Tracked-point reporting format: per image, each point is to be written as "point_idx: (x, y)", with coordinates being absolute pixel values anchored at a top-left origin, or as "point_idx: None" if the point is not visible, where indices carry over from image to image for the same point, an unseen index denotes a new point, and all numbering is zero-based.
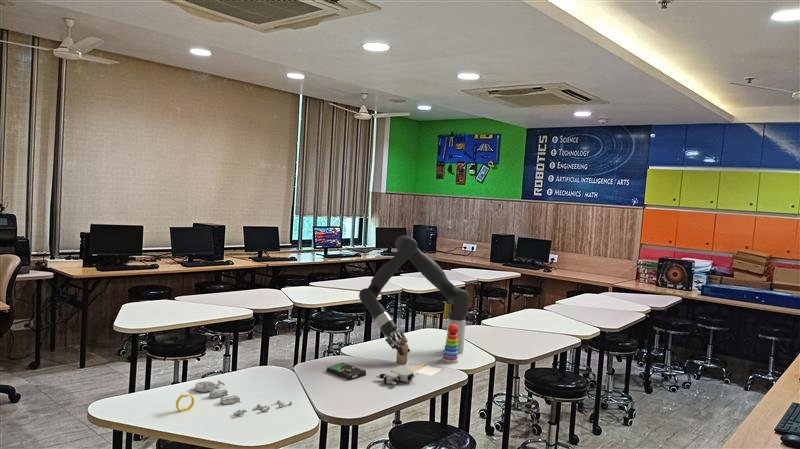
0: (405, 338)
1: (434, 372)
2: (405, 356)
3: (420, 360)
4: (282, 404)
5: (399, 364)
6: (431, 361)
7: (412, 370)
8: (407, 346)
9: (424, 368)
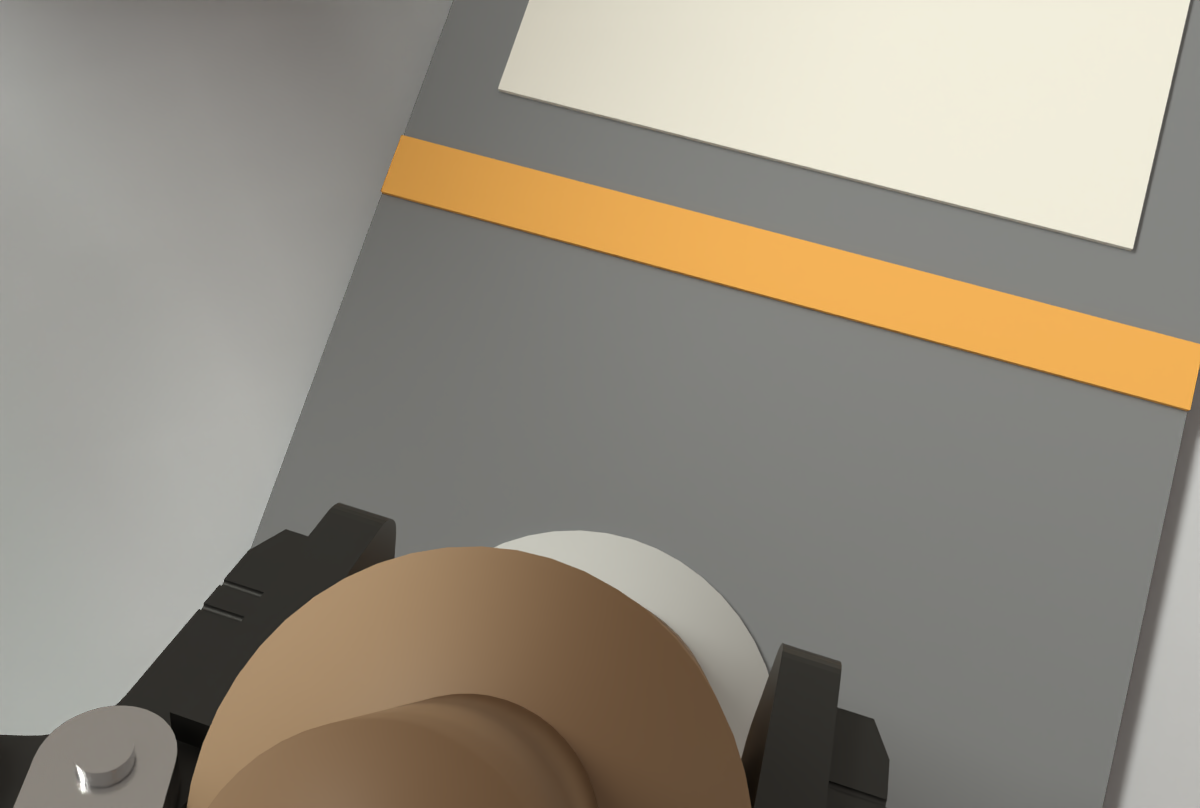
0: (391, 746)
1: None
2: (657, 617)
3: (67, 337)
4: None
5: None
6: (56, 88)
7: (1057, 327)
8: (556, 561)
9: (744, 97)
